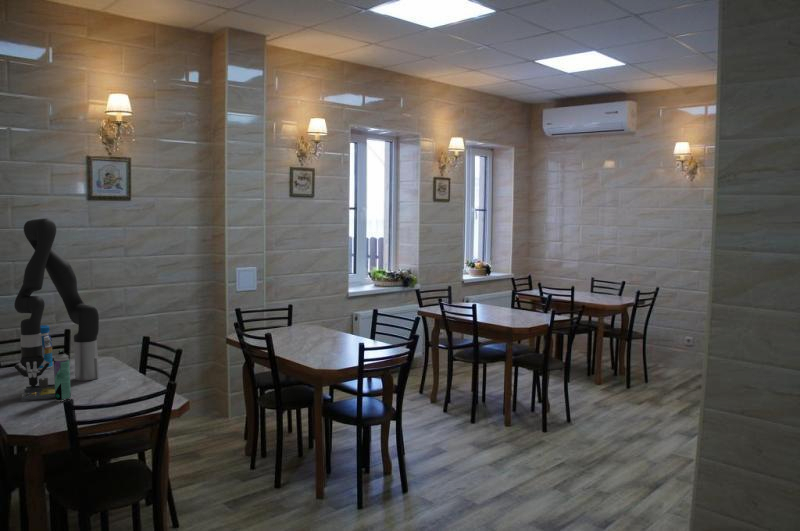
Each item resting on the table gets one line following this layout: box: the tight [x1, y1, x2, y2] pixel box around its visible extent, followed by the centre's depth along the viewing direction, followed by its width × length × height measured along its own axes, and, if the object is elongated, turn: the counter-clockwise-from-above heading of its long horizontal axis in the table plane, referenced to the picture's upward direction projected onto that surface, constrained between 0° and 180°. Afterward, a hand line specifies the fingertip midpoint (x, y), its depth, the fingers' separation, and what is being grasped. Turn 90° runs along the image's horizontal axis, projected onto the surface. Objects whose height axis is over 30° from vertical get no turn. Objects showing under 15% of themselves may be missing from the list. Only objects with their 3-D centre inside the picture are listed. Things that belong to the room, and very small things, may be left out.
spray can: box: [53, 349, 72, 403], centre depth 253 cm, size 6×6×20 cm
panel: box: [21, 383, 55, 402], centre depth 259 cm, size 15×12×3 cm
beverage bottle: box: [38, 324, 54, 371], centre depth 302 cm, size 8×8×20 cm
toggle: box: [38, 377, 49, 388], centre depth 262 cm, size 3×3×4 cm
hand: (33, 386), depth 261 cm, fingers closed
